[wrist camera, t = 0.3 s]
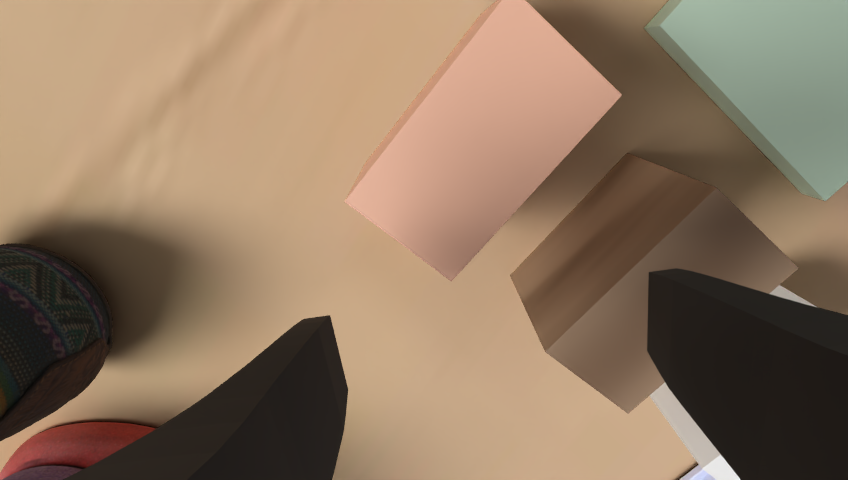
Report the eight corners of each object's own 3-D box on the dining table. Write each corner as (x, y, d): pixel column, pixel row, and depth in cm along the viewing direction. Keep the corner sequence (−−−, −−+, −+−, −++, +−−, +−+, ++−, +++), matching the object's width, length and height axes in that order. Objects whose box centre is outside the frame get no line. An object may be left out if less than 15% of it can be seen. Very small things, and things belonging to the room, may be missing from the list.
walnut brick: (689, 211, 20) (799, 268, 14) (572, 324, 22) (628, 413, 16) (626, 152, 19) (716, 187, 13) (509, 274, 21) (545, 351, 15)
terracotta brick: (557, 87, 18) (621, 95, 12) (441, 221, 20) (451, 281, 14) (480, 14, 17) (512, -13, 11) (365, 162, 19) (344, 201, 13)
